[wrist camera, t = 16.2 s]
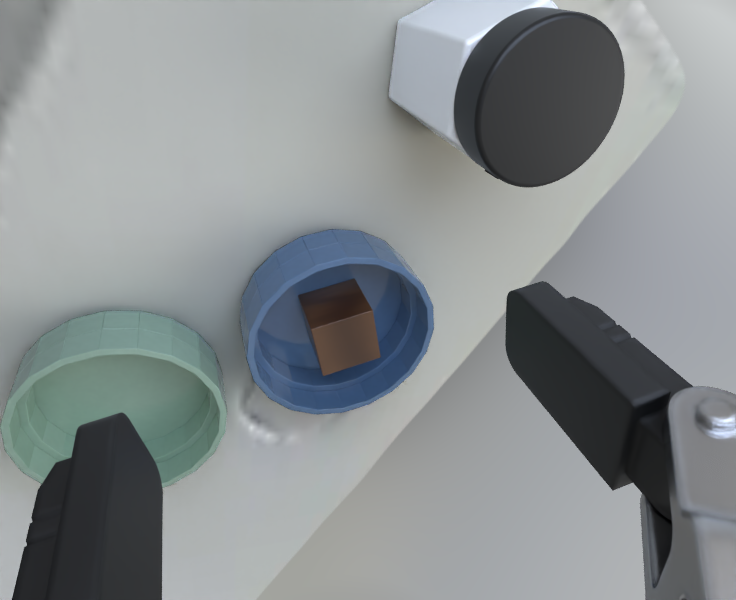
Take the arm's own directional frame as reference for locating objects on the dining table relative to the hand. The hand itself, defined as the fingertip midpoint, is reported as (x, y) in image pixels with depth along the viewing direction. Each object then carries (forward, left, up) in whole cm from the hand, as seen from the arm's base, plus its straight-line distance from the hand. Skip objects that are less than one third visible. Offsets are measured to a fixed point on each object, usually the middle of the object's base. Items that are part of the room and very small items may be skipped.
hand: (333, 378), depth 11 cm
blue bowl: (+9, -15, -26) cm, 31 cm away
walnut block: (+9, -15, -26) cm, 31 cm away
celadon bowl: (-6, -22, -26) cm, 35 cm away
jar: (+14, +4, -26) cm, 30 cm away
